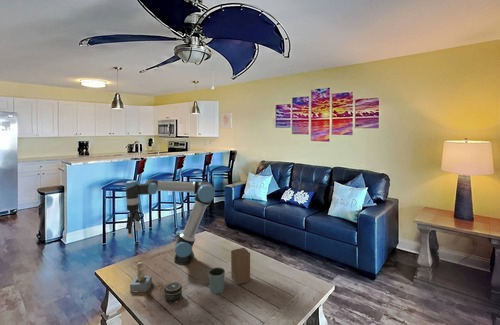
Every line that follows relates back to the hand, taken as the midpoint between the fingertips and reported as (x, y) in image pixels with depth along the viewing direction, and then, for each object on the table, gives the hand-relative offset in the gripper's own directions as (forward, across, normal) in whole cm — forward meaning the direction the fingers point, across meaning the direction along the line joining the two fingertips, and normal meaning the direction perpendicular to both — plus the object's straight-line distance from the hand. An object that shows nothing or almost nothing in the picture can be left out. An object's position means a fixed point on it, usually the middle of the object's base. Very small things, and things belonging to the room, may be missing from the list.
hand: (134, 234), depth 183 cm
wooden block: (+29, +13, +72) cm, 79 cm away
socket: (+29, +17, +9) cm, 35 cm away
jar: (+29, +30, +32) cm, 52 cm away
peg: (+29, +17, +9) cm, 35 cm away
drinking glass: (+29, +23, +57) cm, 68 cm away
